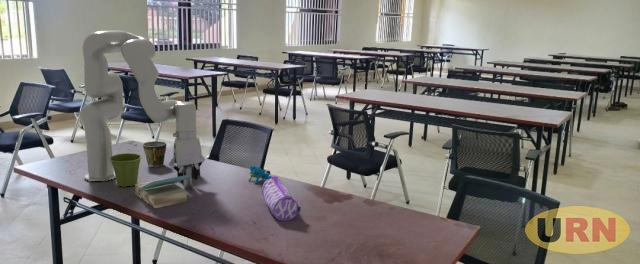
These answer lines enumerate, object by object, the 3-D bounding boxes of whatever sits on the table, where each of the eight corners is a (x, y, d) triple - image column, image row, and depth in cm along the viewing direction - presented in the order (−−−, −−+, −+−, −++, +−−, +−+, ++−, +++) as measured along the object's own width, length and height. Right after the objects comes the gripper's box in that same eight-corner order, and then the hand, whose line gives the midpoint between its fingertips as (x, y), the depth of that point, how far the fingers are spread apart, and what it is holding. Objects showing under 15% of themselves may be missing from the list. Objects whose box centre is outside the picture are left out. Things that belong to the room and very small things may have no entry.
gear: (277, 179, 213) (262, 165, 207) (270, 191, 211) (254, 178, 205) (260, 176, 221) (245, 163, 215) (253, 188, 219) (237, 175, 213)
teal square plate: (141, 190, 189) (141, 187, 189) (175, 183, 198) (175, 180, 198) (153, 184, 180) (153, 181, 180) (188, 177, 188) (188, 174, 189)
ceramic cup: (144, 163, 237) (142, 141, 234) (167, 161, 240) (166, 140, 237) (143, 171, 225) (142, 148, 222) (168, 170, 228) (167, 147, 225)
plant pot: (104, 187, 203) (102, 159, 201) (123, 178, 214) (121, 152, 212) (132, 190, 200) (130, 162, 198) (149, 181, 212) (147, 154, 209)
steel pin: (182, 187, 205) (181, 163, 203) (190, 186, 207) (189, 161, 205) (186, 190, 203) (185, 165, 200) (193, 188, 205) (193, 163, 203)
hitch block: (135, 194, 197) (134, 184, 196) (165, 188, 204) (165, 178, 203) (155, 208, 183) (154, 197, 182) (187, 201, 191) (186, 190, 190)
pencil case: (301, 221, 176) (301, 194, 174) (274, 224, 173) (274, 196, 171) (283, 199, 196) (283, 174, 194) (258, 201, 193) (258, 176, 191)
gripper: (169, 139, 192) (171, 187, 196) (211, 133, 203) (212, 178, 207) (160, 135, 198) (162, 181, 202) (202, 130, 208) (203, 174, 212)
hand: (188, 179), depth 204 cm, fingers open, 5 cm apart
